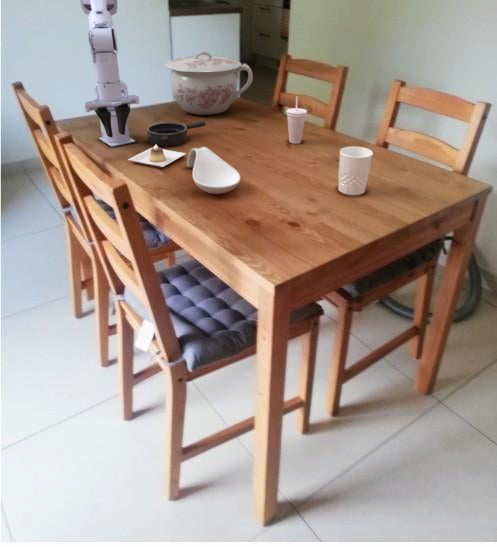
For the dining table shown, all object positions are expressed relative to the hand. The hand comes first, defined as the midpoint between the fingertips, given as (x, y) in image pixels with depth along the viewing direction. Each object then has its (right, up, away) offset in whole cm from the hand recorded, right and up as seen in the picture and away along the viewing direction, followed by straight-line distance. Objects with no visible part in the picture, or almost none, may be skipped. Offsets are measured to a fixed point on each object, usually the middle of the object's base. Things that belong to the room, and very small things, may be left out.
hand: (116, 135), depth 131 cm
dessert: (+9, -4, +11) cm, 15 cm away
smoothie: (+50, +5, +26) cm, 56 cm away
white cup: (+61, -16, -6) cm, 64 cm away
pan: (+10, +5, +26) cm, 28 cm away
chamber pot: (+19, +25, +55) cm, 64 cm away
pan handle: (+17, +11, +29) cm, 36 cm away
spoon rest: (+25, -13, -2) cm, 28 cm away
